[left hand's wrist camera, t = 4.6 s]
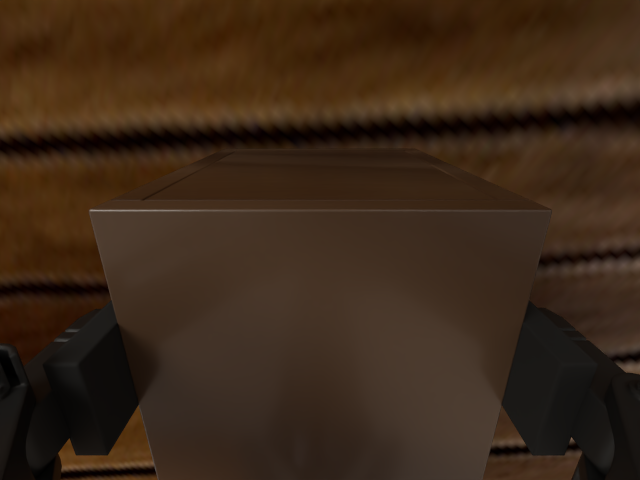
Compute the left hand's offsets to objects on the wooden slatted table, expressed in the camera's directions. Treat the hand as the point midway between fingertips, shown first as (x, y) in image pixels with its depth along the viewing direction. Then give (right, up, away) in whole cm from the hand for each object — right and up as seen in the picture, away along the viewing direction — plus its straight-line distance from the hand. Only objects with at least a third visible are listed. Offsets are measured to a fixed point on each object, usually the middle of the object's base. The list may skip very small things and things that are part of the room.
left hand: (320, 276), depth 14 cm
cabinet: (0, -1, +7) cm, 8 cm away
